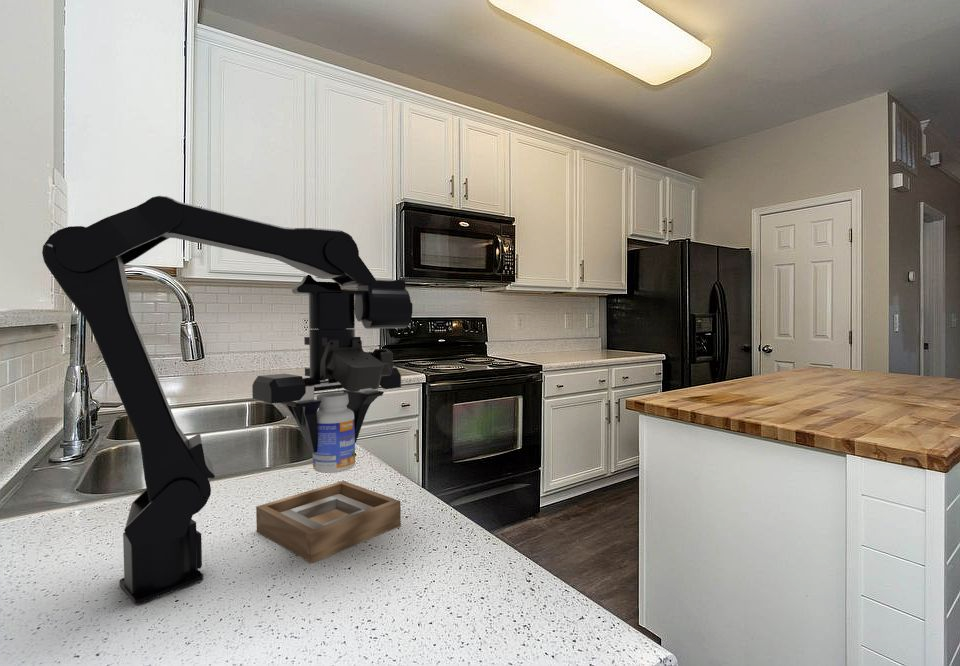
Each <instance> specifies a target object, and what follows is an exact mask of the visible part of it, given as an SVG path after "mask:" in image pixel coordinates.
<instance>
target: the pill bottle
mask: <svg viewBox="0 0 960 666" xmlns="http://www.w3.org/2000/svg"><path fill="white" fill-rule="evenodd" d="M316 400H320V401H321V403H320V406H319V408H318V410H317V430H318V447H317V452H315V453H313V452H312V469H313V470H314V471H315V472H318V473H321V474H323V473H324V474H335V473H341V472H345V471H348V470H350V469H353V468H354V467H355V466H356V443H355V425H354V412H353V411H352V410H351V409H348V408H347V404H348V402H349V399H348V393H344V392H342V391H341V392H340V391H336V392H324V393H323V392H322V393H318V394H317V395H316Z"/></svg>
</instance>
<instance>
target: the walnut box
mask: <svg viewBox="0 0 960 666" xmlns="http://www.w3.org/2000/svg"><path fill="white" fill-rule="evenodd" d="M255 511H256V512H255V513H256V515H255V516H256V517H255V518H256V519H255V520H256V521H255V522H256V532H257V533H258V534H260V535H262V536H264V537H265V538H267V539H269V540H271V542H274V543H276V544H278V545H279V546H280V547H283V548H284V549H286V550H287V551H289V552H291V553H293V554H295V555H297V556H298V557H299V558H301V559H304V560H305V561H307V562H308V563H309V564H313V563H315V562H318V561H320V560H322V559H323V560H324V559H325V558H328V557H330V556H331V555H335V554H336V553H339V552H341V551H344V550H345V549H348V548H350V547H353V546H357V544H361V543H362V542H364V541H365V542H366V541H367V540H370V539H372V538H374V537H377V536H379V535H381V534H384V533H386V532H388V531H391V530H393V529H395V528H398V527H401V525H402V523H401V521H402V519H401V511H402V509H401V500H399V499H397V498H394V497H390V496H387V495H384V494H383V493H378V492H376V491H373V490H371V489H368V488H365V487H362V486H359V485H356V484H354V483H351V482H349V481H345V480H341V481H337V482H334V483H330V484H327V485H324V486H320V487H317V488H313V489H310V490H308V491H304V492H300V493H297V494H294V495H290V496H288V497H284V498H280V499H277V500H274V501H270V502H267V503H264V504H260V505H256V508H255Z"/></svg>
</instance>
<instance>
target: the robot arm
mask: <svg viewBox="0 0 960 666" xmlns="http://www.w3.org/2000/svg"><path fill="white" fill-rule="evenodd" d="M168 239H177V240H183V241H188V242H193V243H197V244H201V245H207V246H211V247H215V248H221V249H226V250H230V251H234V252H235V251H236V252H240V253H245V254H248V255H254V256H259V257H264V258H268V259H274V260H277V261H279V262H282V263H284V264H286V265H289V266H290V267H292V268H294V269H296V270H299V271H300V272H303V273H306V274H307V275H304V276H303V278H302V280H301V281H300V282H299V283H297V285H296V286H294V287H293V288H292V290H291V292H292V294H294V295H308V329H309V331H308V333H309V334H308V336H304V340H303V341H304V346H305V345H306V346H309V367H305V368H304V376H305V377H303V375H296V374H289V373H279V374H278V373H277V374H265V375H257V377H256V378H255V379H254V380H253V383H252V388H251V389H252V391H251V392H252V399H254V400H257V401H261V402H265V403H269V404H281V405H285V406H286V407H287V410H289V412H290V413H291V415H292V417H293V419H294V420H295V422H296V424H297V426H298V429H299V430H300V433H301V434H302V436H303V439H304V440H305V443H306V445H307V447H308V449H309V451H310V452H311V453H312V454H313V453H315V452H317V447H318V430H317V411H318V410H319V406H320V403H321V401H320V400H317V399H316V398H315V392H321V391H329V390H336V389H337V390H338V389H344V390H342V391H343V392H344V393H348V399H349V402H348V404H347V408H348V409H351V410H352V411H353V412H354V425H355V444H357V441H358V437H359V434H360V433H361V430H362V426H363V423H364V420H365V417H366V414H367V413H368V410H369V408H370V406H371V404H372V403H373V402H374V401H375V400H377V398H378V397H382V396H384V393H385V392H384V391H381V390H379V388H380V387H381V388H382V389H383V390H390V389H391V390H392V389H399V388H402V374H401V372H400V371H399V369H398V367H394V358H393V356H394V355H393V351H391V350H390V349H388V348H375V349H374V350H373V351H364V349H363V341H362V340H361V336H355V335H356V327H355V324H356V323H355V319H356V320H357V322H361V324H362V326H363V327H364V328H365V329H366V330H367V329H371V330H372V329H375V330H376V329H406V328H408V327H409V326H410V324H411V322H412V318H413V317H412V316H413V302H411V301H412V300H411V296H410V294H409V291H408V290H407V289H406V280H404V279H394V280H378V279H376V277H375V276H374V275H373V274H372V272H371V271H370V269H369V268H368V267H367V265H366V264H365V263H364V261H363V259H362V257H360V253H359V252H360V251H359V248H358V245H357V243H356V241H355V240H354V238H353V236H352V235H350V234H349V233H348V232H345V231H343V230H341V229H332V228H331V229H329V228H318V227H284V226H279V225H275V224H271V223H267V222H265V221H264V222H263V221H259V220H254V219H252V218H248V217H243V216H238V215H234V214H230V213H228V212H227V213H226V212H223V211H217V210H214V209H211V208H205V207H202V206H198V205H194V204H190V203H185V202H182V201H179V200H176V199H174V198H172V197H170V196H166V195H165V196H164V195H157V196H152V197H150V198H149V199H148V200H147V199H146V201H145V202H141V204H139V205H137V206H134V207H131V208H128V209H126V210H123V211H120V212H117V213H115V214H112V215H110V216H107V217H104V218H102V219H100V220H98V221H96V222H94V223H92V224H90V225H88V226H87V227H86V226H82V225H76V226H72V225H71V226H67V227H64V228H60V229H58V230H57V231H55V232H53V233H52V234H50V235H49V237H48V238H47V240H46V242H44V244H43V245H42V250H41V251H42V252H41V253H42V254H41V255H42V259H43V262H44V264H45V266H46V267H47V269H48V270H49V271H50V273H51V275H52V277H53V278H54V279H55V280H56V282H57V283H58V285H59V286H60V288H61V289H62V291H63V292H64V294H65V295H66V296H67V298H69V300H70V301H71V302H72V303H73V305H74V306H75V308H77V310H78V311H79V313H80V314H81V315H82V316H83V318H84V319H85V320H86V322H87V323H88V326H89V327H90V330H91V333H92V335H93V337H94V339H95V342H96V344H97V347H98V349H99V351H100V353H101V356H102V358H103V361H104V363H105V366H106V368H107V370H108V372H109V374H110V377H111V379H112V382H113V384H114V387H115V389H116V391H117V394H118V396H119V398H120V401H121V403H122V405H123V408H124V410H125V412H126V415H127V418H128V420H129V422H130V424H131V427H132V429H133V431H134V433H135V435H136V438H137V440H138V443H139V447H140V455H141V460H142V470H143V476H144V477H143V478H144V482H145V490H144V491H143V492H142V493H141V494H139V496H137V498H136V499H135V500H133V501H132V502H131V506H130V508H129V513H128V516H127V520H126V523H125V526H124V532H123V533H122V539H123V544H122V545H123V546H122V547H123V576H124V577H122V578H120V579H119V582H118V583H119V586H120V587H121V588H122V589H123V591H124V592H125V593H126V595H127V596H128V597H129V598H130V599H131V600H132V602H133V603H134V604H136V605H138V604H142V603H145V602H149V601H150V600H153V599H156V598H159V597H161V596H163V595H166V594H168V593H169V594H170V593H171V592H174V591H177V590H179V589H181V588H184V587H187V586H189V585H192V584H195V583H198V582H199V581H202V580H203V579H204V573H202V572H201V571H200V569H201V568H202V566H203V550H202V549H203V548H202V547H203V546H202V533H201V532H200V531H198V530H197V521H195V520H194V519H192V518H193V516H194V515H196V514H197V513H199V512H200V511H201V510H202V509H203V508H204V507H205V506H206V505H207V503H208V501H209V499H210V497H211V492H212V487H211V481H210V479H214V478H215V477H216V475H215V470H214V465H213V462H212V460H211V459H210V458H209V457H208V456H207V455H206V453H205V452H204V451H205V450H204V447H203V443H202V442H203V441H202V437H201V436H202V435H201V433H198V434H196V435H194V436H192V437H190V438H187V436H186V435H185V434H184V432H183V431H182V430H181V429H180V427H179V425H178V423H177V422H176V419H175V417H174V414H173V412H172V409H171V406H170V404H169V401H168V399H167V397H166V395H165V391H164V389H163V388H162V384H161V382H160V379H159V377H158V374H157V373H156V370H155V368H154V365H153V363H152V360H151V357H150V355H149V353H148V349H147V348H146V345H145V343H144V340H143V338H142V336H141V334H140V330H139V328H138V325H137V323H136V321H135V319H134V316H133V314H132V313H133V312H132V307H131V299H130V292H129V287H128V286H129V285H128V281H127V280H128V279H127V275H126V269H125V265H128V264H129V263H131V262H133V261H134V260H137V258H139V257H141V256H142V255H145V254H146V253H148V252H149V251H150V250H152V249H154V248H155V247H157V246H158V245H160V244H161V243H163V242H165V241H167V240H168ZM314 277H317V278H320V279H323V280H325V279H327V280H332V281H321V280H320V281H317V280H316V279H314ZM341 287H343V288H357V290H354V289H353V290H351V289H342V288H341Z"/></svg>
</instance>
